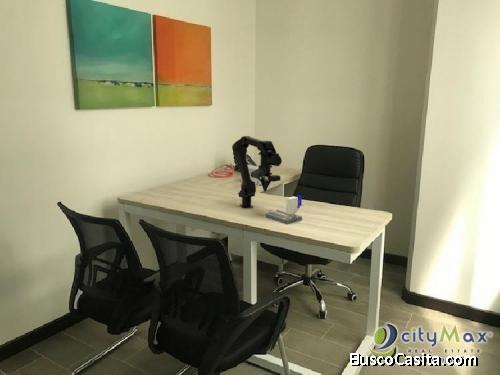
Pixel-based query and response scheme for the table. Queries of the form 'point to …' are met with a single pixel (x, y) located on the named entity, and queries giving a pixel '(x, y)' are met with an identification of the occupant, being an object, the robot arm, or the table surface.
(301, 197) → the cable clip
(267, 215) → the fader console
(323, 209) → the table surface
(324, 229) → the table surface
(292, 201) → the fader handle
